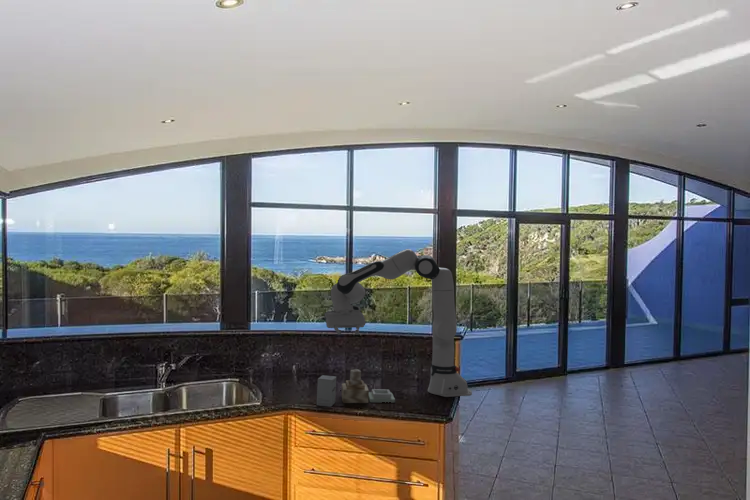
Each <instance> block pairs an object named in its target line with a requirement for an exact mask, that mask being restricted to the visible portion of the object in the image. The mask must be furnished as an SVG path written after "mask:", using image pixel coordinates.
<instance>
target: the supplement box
mask: <svg viewBox="0 0 750 500" xmlns="http://www.w3.org/2000/svg"><path fill="white" fill-rule="evenodd" d="M336 394H337V376H334V375H323V374H322V375H320V376H319V377H318V378H317V388H316V406H320V407H329V408H331V407H333V405H334V404H335V403H336Z"/></svg>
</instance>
